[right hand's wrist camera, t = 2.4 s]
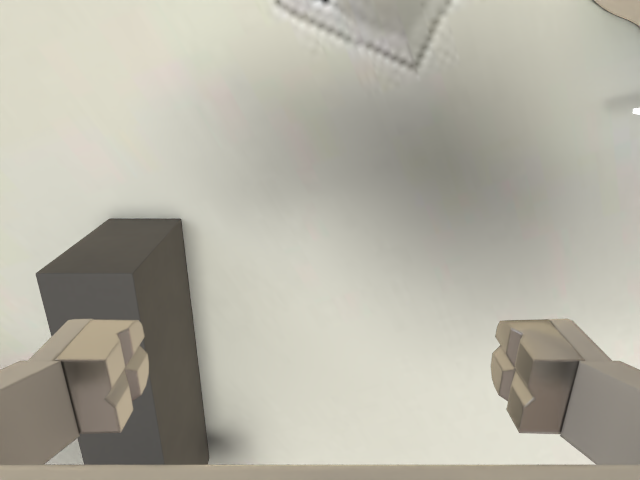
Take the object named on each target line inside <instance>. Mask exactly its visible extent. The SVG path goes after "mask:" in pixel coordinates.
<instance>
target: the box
mask: <svg viewBox="0 0 640 480" xmlns="http://www.w3.org/2000/svg"><path fill="white" fill-rule="evenodd" d="M36 277H37V281H38V285H39V289H40V293H41V297H42V301H43V305H44V309H45V313H46V316H47V320H48V324H49V328H50V332H51V336H53V335H54V334H55V333H56V332H57V331H58V330H59V329H60V328H61V327H62V326H63V325H64V324H65V323H66V322H67V321H68V320H72V319H114V320H139V321H140V322H141V324H142V326H143V331H144V336H145V337H144V339H143V340H142V342H141V343H140V346H141V347H142V348H143V349H144V350H145V351H146V352H147V353H148V360H149V375H148V379H147V384H146V387H145V389H144V391H143V393H142V395H141V396H139V397H138V398H136V399H135V400H133V401H132V405H133V411H132V413H131V415H130V417H129V419H128V421H127V422H126V424H125V426H124V428H123V430H122V432H121V433H100V434H79V435H80V436H79V437H78V441H79V445H80V449H81V453H82V457H83V461H84V465H208V461H209V453H208V444H207V436H206V427H205V419H204V410H203V402H202V393H201V385H200V377H199V368H198V360H197V351H196V343H195V334H194V326H193V317H192V309H191V300H190V292H189V283H188V275H187V267H186V258H185V250H184V241H183V233H182V224H181V219H108V220H107V221H106V222H104V223H103V224H102V225H100V226H99V227H98V228H96V229H95V230H94V231H92V232H91V233H90V234H88V235H87V236H86V237H84V238H83V239H82V240H80V241H79V242H77V243H76V244H75V245H73V246H72V247H71V248H69V249H68V250H67V251H65V252H64V253H63V254H61V255H60V256H59V257H57V258H56V259H55V260H53V261H52V262H51V263H49V264H48V265H46V266H45V267H44V268H42V269H41V270H40V271H38V272H37V273H36Z"/></svg>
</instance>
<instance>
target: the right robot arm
mask: <svg viewBox="0 0 640 480" xmlns="http://www.w3.org/2000/svg"><path fill="white" fill-rule="evenodd" d="M594 1H595V2H596V3H597V4H599V5H600V6H601V7H602V8H604V9H605V10H607V11H609V12H611V13H612V14H614V15H617V16H619V17H622V18H624V19H627V20H629V21H631V22H633V23H635V24H636V25H638V26H639V27H640V0H594ZM633 113H634V114H640V108H637V109H633ZM144 337H145V336H144V331H143V326H142V324H141V322H140V321H139V320H114V319H72V320H68V321H67V322H66V323H65V324H64V325H63V326H62V327H61V328H60V329H59V330H58V331H57V332H56V333H55V334H54V335H53V336H52V337H51V338H50V339H49V340H48V341H47V342H46V343H45V344H44V345H43V346H42V347H41V348H40V349H39V350H38V351H37V352H36V353H35V354H34V355H33V356H32V357H31V358H30V359H29V360H28V361H19V362H17V363H15V364H12V365H10V366H8V367H6V368H3V369H1V370H0V480H640V370H639V369H637V368H634V367H632V366H630V365H628V364H625V363H623V362H621V361H612V360H611V359H610V358H609V357H608V356H607V355H606V354H605V353H604V352H603V351H602V350H601V349H600V348H599V347H598V346H597V345H596V344H595V343H594V342H593V341H592V340H591V339H590V338H589V337H588V336H587V335H586V334H585V333H584V332H583V331H582V330H581V329H580V328H579V327H578V326H577V325H576V324H575V323H574V322H573V321H572V320H569V319H545V320H505V321H500V322H499V324H498V326H497V330H496V335H495V337H496V339H497V340H498V342H499V343H500V346H499V347H498V348H497V349H496V350H495V351H494V352H493V353H492V361H491V374H492V380H493V384H494V387H495V389H496V391H497V393H498V395H499V396H501V397H502V398H504V399H505V400H507V401H508V405H507V411H508V413H509V415H510V417H511V419H512V421H513V422H514V424H515V426H516V428H517V430H518V431H519V433H539V434H561V435H560V436H561V437H562V438H564V439H565V440H566V441H567V442H569V443H570V444H571V445H572V446H574V447H575V448H576V449H577V450H579V451H580V452H581V453H583V454H584V455H585V456H586V457H588V458H589V459H590V460H591V461H593V462H594V463H595V464H596V465H44V464H45V463H46V462H47V461H49V460H50V459H51V458H53V457H54V456H55V455H56V454H58V453H59V452H60V451H61V450H63V449H64V448H65V447H66V446H68V445H69V444H70V443H72V442H73V441H74V440H75V439H77V438H78V437H79V436H80V435H79V434H100V433H121V432H122V430H123V428H124V426H125V424H126V422H127V421H128V419H129V417H130V415H131V413H132V411H133V405H132V401H133V400H135V399H136V398H138V397H139V396H141V395H142V393H143V391H144V389H145V387H146V384H147V379H148V375H149V360H148V353H147V352H146V351H145V350H144V349H143V348H142V347H141V346H140V343H141V342H142V340H143V339H144Z"/></svg>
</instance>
